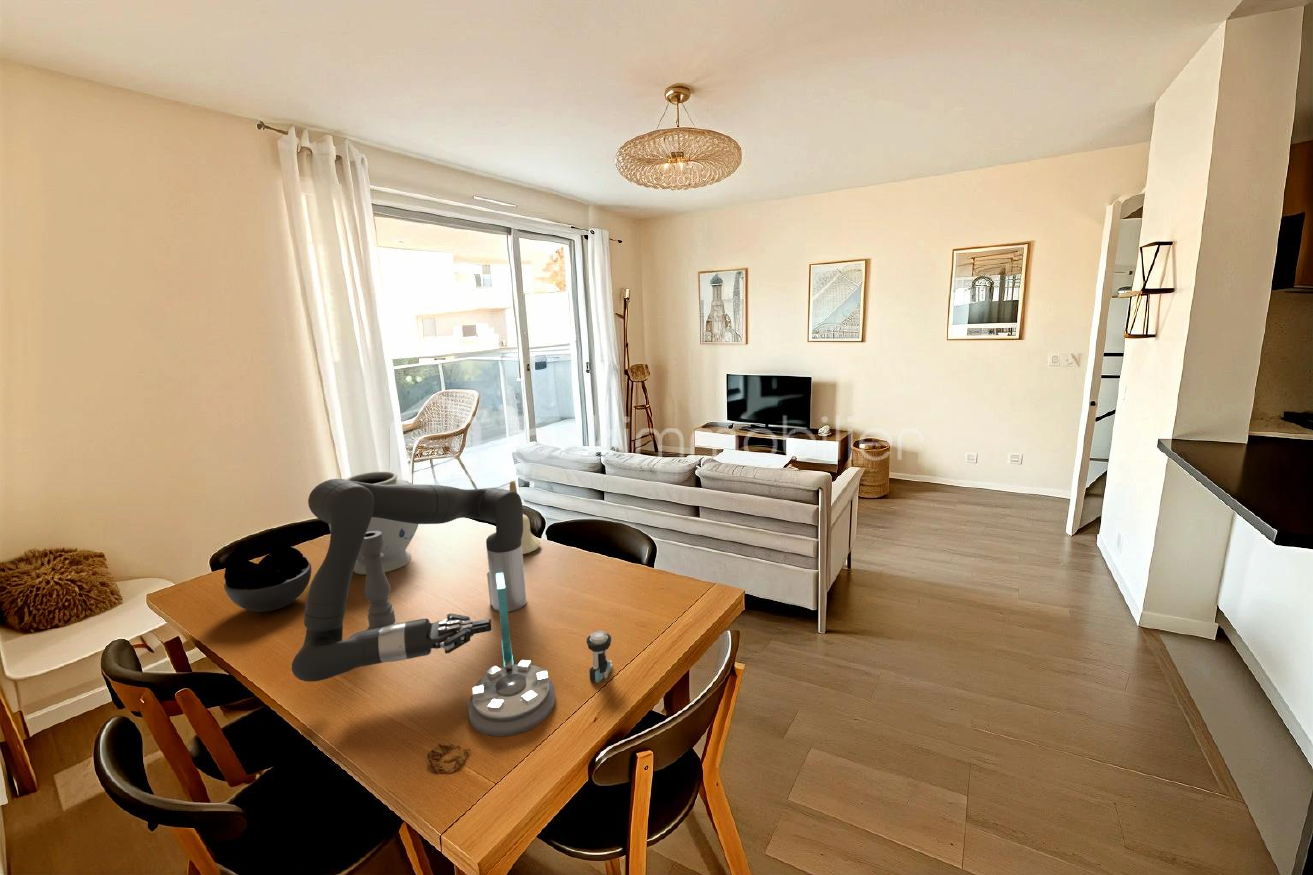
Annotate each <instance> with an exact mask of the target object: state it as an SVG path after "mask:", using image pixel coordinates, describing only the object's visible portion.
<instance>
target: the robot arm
mask: <svg viewBox="0 0 1313 875" xmlns="http://www.w3.org/2000/svg"><path fill="white" fill-rule="evenodd" d="M345 479H346V478H345ZM345 479H344V478H331V479H328V480H325V481H323V482H321V483H319V484H318V485H316V486H315V487H314V488H313V489H312V490H311V492H309V495H308V500H307V503H308V508H309V510H310V512H311V513H312V514H313V515H314V517H316V518H317V519H318V520H319V521H322V522H324V523H326V524H328V525H329V524H330V525H331V531H330V537H329V538H330V539H329V544H328V545H329V546H328V550H327V553H326V555H325V558H324V559H323V561H322V563H321V565H320V566H319V568H318V570H317V571H316V573H315V575H314V577H313V579H312V580H311V583H310V586H309V589H308V593H307V598H306V603H305V610H304V615H303V625H304V627H305V628H306V631H305V639H304V642H303V645H302V647H301V648H300V649H299V651H298V652H297V653H296V654H295V656H294V657H293V660H292V663H291V672H292V675H293V676H294V677H295V678H296V679H298V680H300V681H303V682H310V683H311V682H320V681H324V680H327V679H331V678H334V677H336V676H340V675H342V674H345V673H347V672H350V671H353V670H354V669H357V668H361V667H368V666H372V665H378V664H383V663H393V662H395V663H396V662H399V661H406V660H410V659H411V660H412V659H415V658H420V657H426V656H430V654H432V649H435V650H438V649H443V650H444V654H450V653H452V652H453V651H455V650H457V649H458V648H461V647H462V646H464V645H465V644H467V643H469V642H470V641H471V638H472V637H473V636H474V635H476V634H483V633H488V632H491V631H492V620H491V618H486V619H480V620H475V621H473V620H472V619H471V617H470V616H467V615H461V614H456V613H451V612H449V613H447V614H446V618H445V619H444V620H437V621H436V622H433V623H431V622H430V620H429V619H428V618H427V617H426V618H421V619H420V618H419V619H415V620H410V621H409V620H408V621H402V622H399V623H397V622H396V623H394V624H392V625H389V626H385V627H382V628H376V629H370V628H369V629H365V630H360V631H357V632H355V633H353V634H352V635H351V636H349V637H348V638H346V639H343V632H344V630H343V629H344V627H343V624H344V623H343V622H344V618H345V612H346V607H347V603H348V596H349V590H350V584H351V581H352V578H353V574H354V571H353V570H354V567H355V564H356V561H357V558H358V555H359V552H360V549H361V546H362V543H363V540H364V537H365V534H366V532H367V529H368V526H369V524H370V521H371V518H372V517H376V518H384V519H389V520H394V521H399V522H406V523H413V524H418V525H441V524H446V523H450V522H452V521H454V520H456V519H464V518H465V519H476V520H482V521H485V522H489V523H494V524H495V532H494V533H491V534H489V535H488V537H487V538H486V540H485V541H486V542H485V543H486V554H487V561H488V562H487V565H488V571H487V574H486V577H487V586H488V597H489V605H491V606H492V609H493V610H495V611H497V612H499V602H498V591H497V581H496V574H497V573H503V576H504V583H505V592H506V602H507V613H508V612H513V611H516V610H519V609H521V608H523V607H524V606H525V605H526V603H527V593H526V592H527V591H526V590H527V589H526V579H525V569H524V554H522V543H521V538H522V535H523V514H524V511H523V507H524V506H523V502H522V498H521V496H520V494H519V493H518V492H517V493H516V492H514V491H510V489H504V488H498V487H486V488H474V489H466V488H465V489H464V488H458V487H454V486H448V485H440V484H412V483H411V484H397V485H377V484H369V483H362V482H356V481H350V480H345Z"/></svg>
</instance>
